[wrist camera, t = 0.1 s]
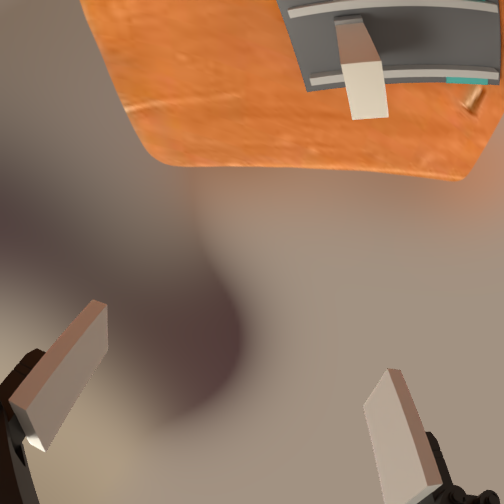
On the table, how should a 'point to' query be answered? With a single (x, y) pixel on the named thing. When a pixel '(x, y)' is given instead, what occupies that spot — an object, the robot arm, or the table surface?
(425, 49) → the fader console
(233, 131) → the table surface
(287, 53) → the table surface
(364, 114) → the fader handle
